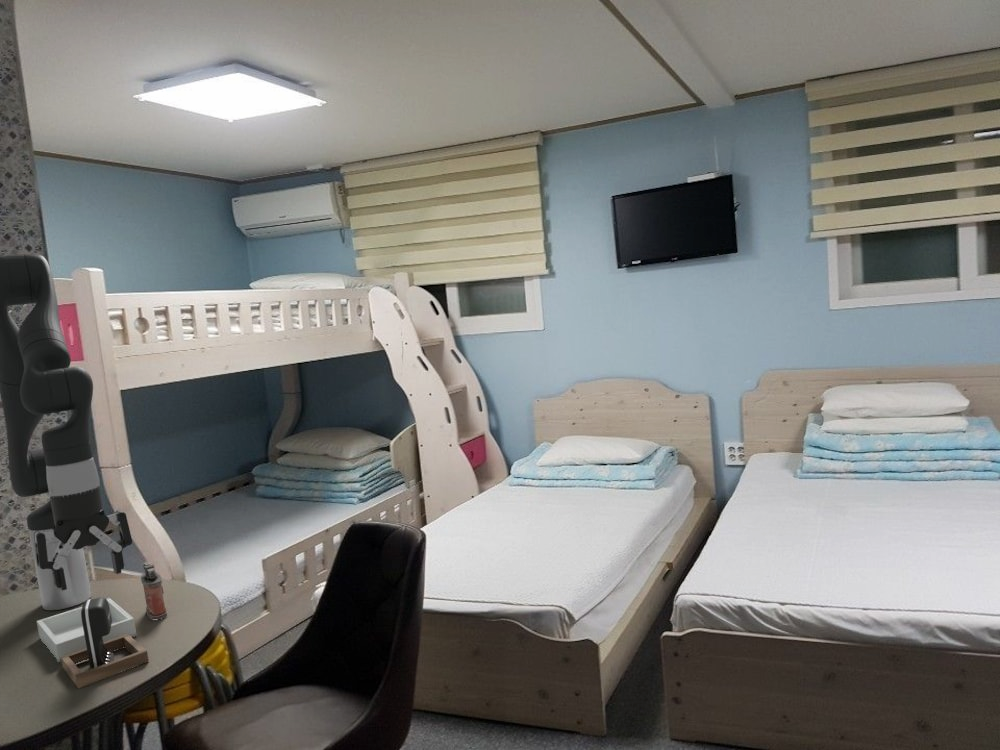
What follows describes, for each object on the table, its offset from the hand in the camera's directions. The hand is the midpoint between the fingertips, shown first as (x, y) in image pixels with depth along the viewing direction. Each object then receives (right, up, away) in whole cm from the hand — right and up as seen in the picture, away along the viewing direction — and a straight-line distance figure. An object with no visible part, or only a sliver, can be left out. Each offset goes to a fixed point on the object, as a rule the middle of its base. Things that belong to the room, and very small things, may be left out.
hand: (90, 580), depth 136 cm
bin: (-8, -14, +15) cm, 22 cm away
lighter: (+1, -13, +23) cm, 26 cm away
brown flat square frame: (+1, -15, +2) cm, 15 cm away
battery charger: (+2, -15, +2) cm, 15 cm away
